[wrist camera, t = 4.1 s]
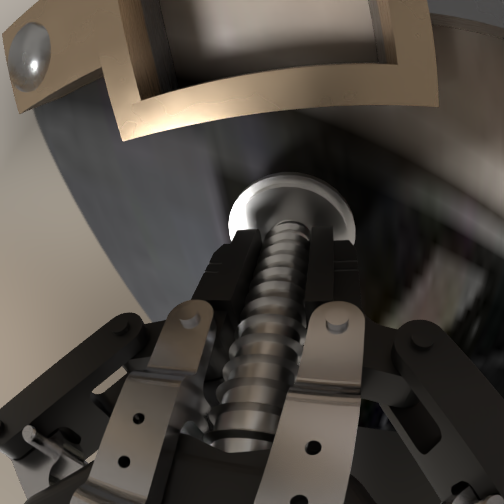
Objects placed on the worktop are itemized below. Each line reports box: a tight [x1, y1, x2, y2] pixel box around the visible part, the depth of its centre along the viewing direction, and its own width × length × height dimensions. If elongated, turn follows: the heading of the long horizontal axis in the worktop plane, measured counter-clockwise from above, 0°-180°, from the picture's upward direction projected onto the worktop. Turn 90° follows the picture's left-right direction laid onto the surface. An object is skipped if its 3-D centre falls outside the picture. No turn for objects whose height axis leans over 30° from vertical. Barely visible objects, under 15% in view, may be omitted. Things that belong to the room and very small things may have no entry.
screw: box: [203, 172, 355, 453], centre depth 8 cm, size 13×5×5 cm
